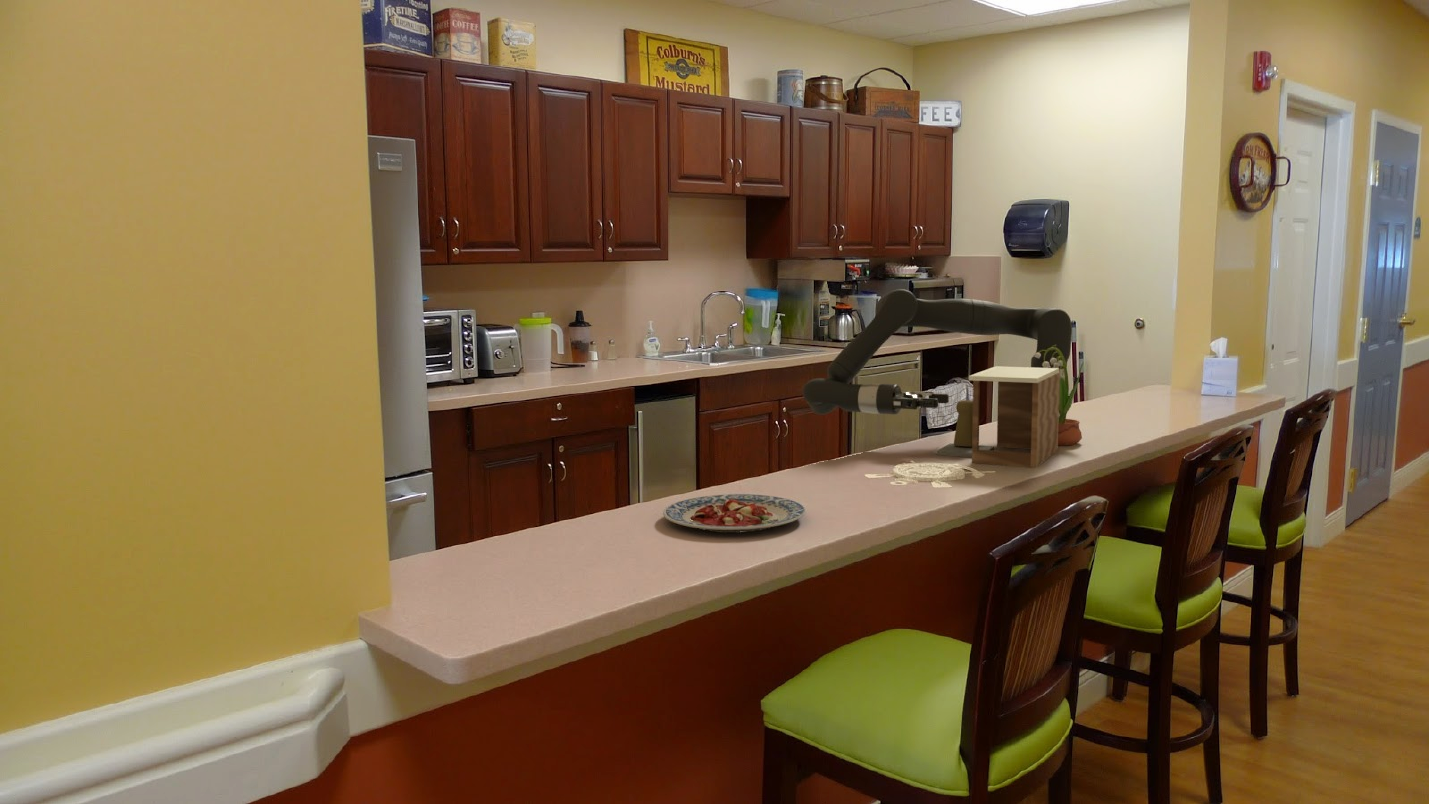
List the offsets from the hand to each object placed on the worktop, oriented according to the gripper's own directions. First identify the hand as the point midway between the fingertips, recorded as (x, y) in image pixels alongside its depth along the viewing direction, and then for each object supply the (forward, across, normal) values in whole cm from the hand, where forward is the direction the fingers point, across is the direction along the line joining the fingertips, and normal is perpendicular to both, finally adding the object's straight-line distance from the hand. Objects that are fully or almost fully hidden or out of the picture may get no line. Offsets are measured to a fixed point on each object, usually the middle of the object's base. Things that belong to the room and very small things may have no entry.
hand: (943, 401), depth 249 cm
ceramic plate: (-14, -83, +12) cm, 85 cm away
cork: (+5, +3, +11) cm, 13 cm away
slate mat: (+6, 0, +12) cm, 14 cm away
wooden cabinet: (+18, 0, +12) cm, 22 cm away
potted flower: (+23, +22, +13) cm, 34 cm away
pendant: (+5, -29, +13) cm, 32 cm away
